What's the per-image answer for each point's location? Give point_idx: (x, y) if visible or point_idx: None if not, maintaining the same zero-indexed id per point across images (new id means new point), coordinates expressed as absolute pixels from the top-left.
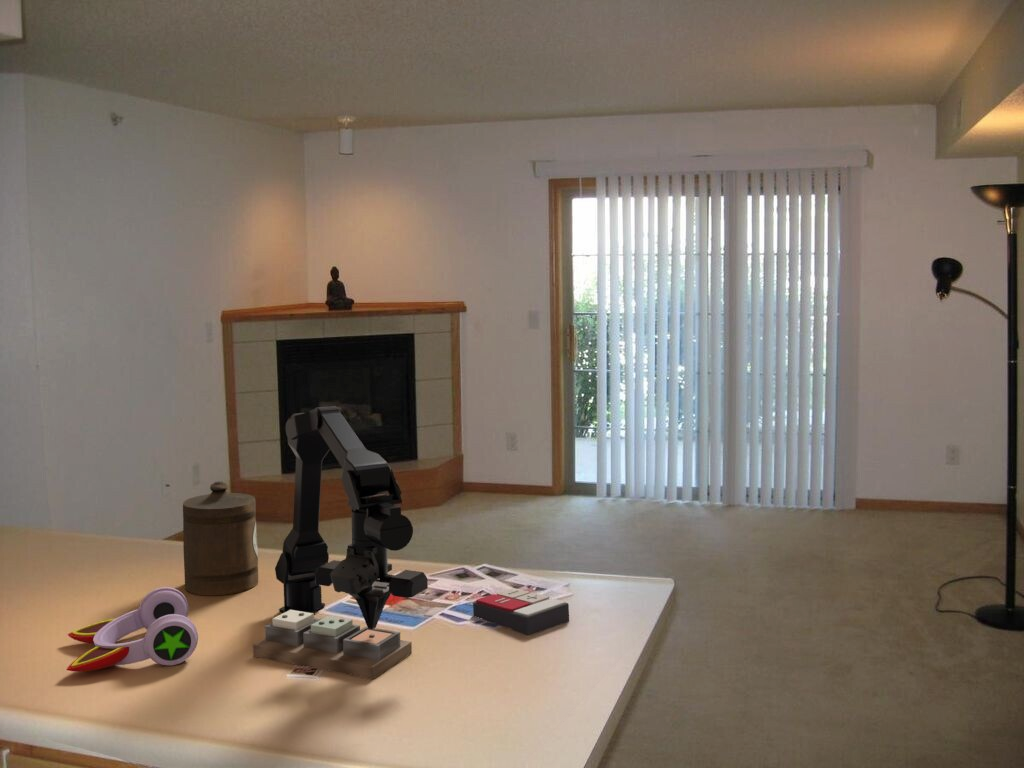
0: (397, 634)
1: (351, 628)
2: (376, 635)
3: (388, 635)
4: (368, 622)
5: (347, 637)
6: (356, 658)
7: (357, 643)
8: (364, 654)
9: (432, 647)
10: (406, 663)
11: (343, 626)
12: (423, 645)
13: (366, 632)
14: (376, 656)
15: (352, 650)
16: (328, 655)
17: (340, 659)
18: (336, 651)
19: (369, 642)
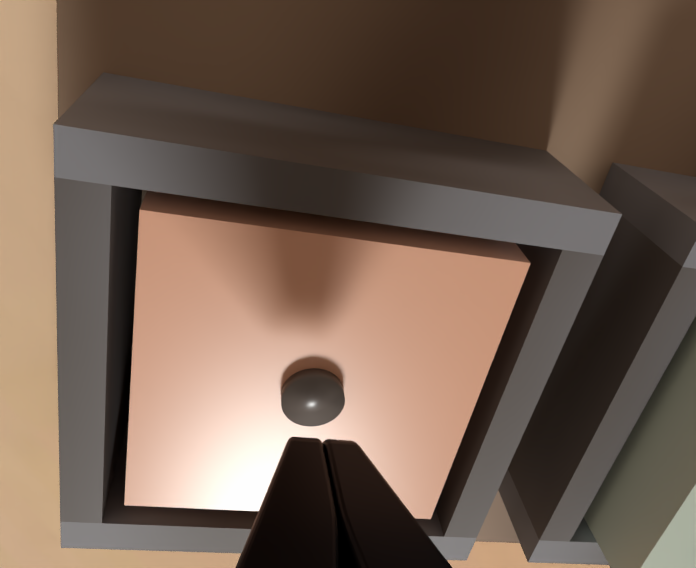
0: (63, 505)
1: (591, 495)
2: (274, 429)
3: (141, 460)
4: (350, 503)
5: (582, 292)
6: (379, 82)
7: (408, 175)
8: (294, 116)
9: (8, 556)
10: (11, 297)
11: (688, 460)
12: (86, 563)
13: (414, 463)
14: (123, 91)
15: (457, 153)
16: (692, 91)
17: (545, 8)
18: (630, 171)
19: (255, 228)
